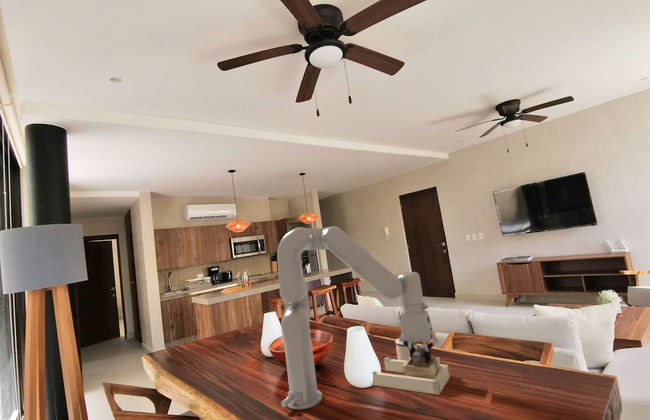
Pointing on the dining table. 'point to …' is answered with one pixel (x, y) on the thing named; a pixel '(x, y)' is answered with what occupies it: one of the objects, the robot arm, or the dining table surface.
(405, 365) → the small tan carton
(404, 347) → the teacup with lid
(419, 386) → the bay
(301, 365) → the robot arm
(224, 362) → the dining table surface
